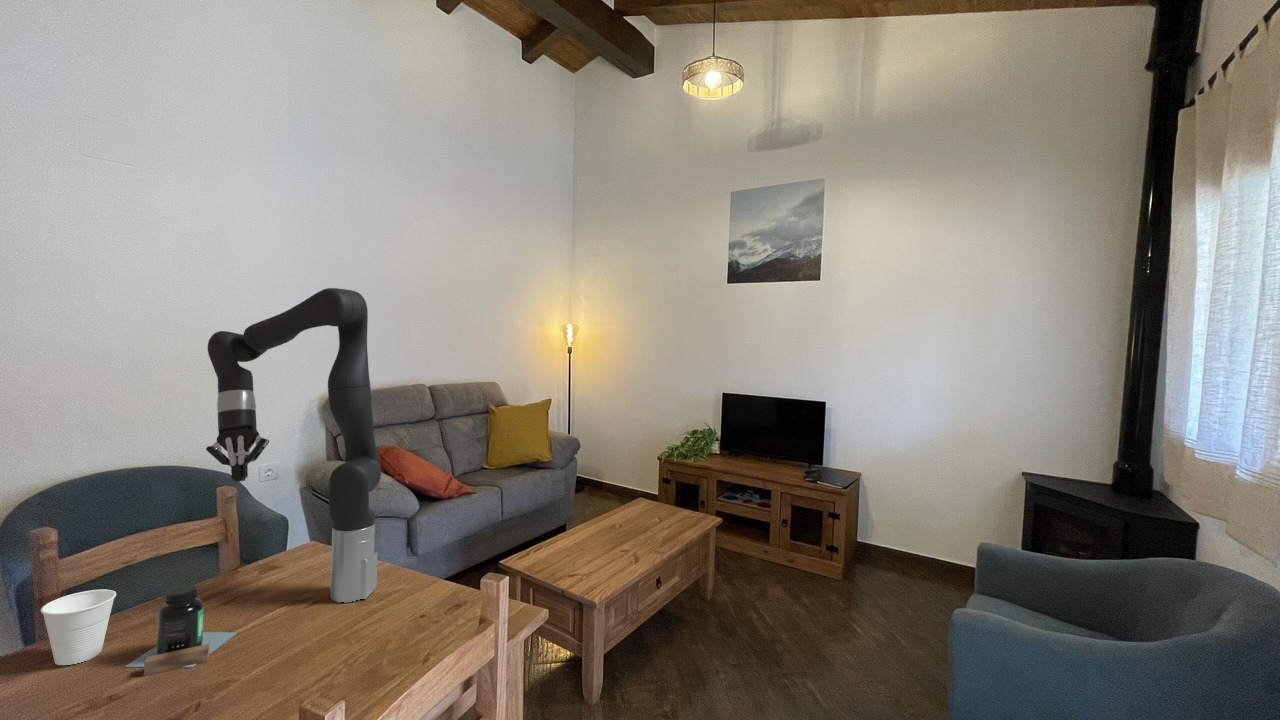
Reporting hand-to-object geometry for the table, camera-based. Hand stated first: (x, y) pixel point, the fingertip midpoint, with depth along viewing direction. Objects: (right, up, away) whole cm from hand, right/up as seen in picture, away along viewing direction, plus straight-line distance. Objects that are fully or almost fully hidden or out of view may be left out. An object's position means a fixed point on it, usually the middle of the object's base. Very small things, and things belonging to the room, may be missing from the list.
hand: (240, 481), depth 127 cm
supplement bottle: (+6, -28, -23) cm, 37 cm away
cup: (-11, -28, -26) cm, 40 cm away
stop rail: (+9, -29, -28) cm, 41 cm away
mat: (+6, -28, -23) cm, 37 cm away
